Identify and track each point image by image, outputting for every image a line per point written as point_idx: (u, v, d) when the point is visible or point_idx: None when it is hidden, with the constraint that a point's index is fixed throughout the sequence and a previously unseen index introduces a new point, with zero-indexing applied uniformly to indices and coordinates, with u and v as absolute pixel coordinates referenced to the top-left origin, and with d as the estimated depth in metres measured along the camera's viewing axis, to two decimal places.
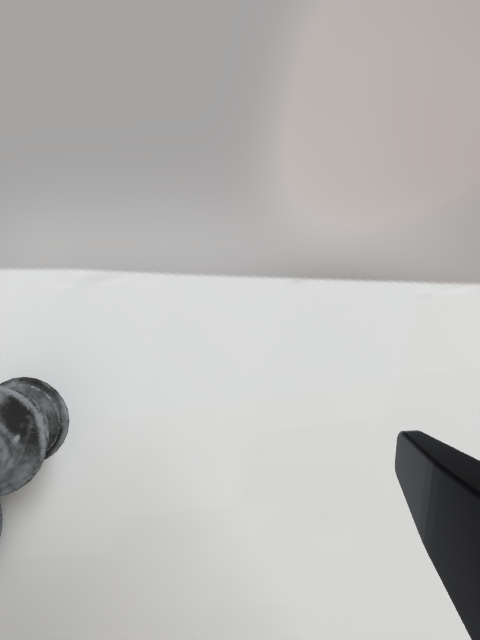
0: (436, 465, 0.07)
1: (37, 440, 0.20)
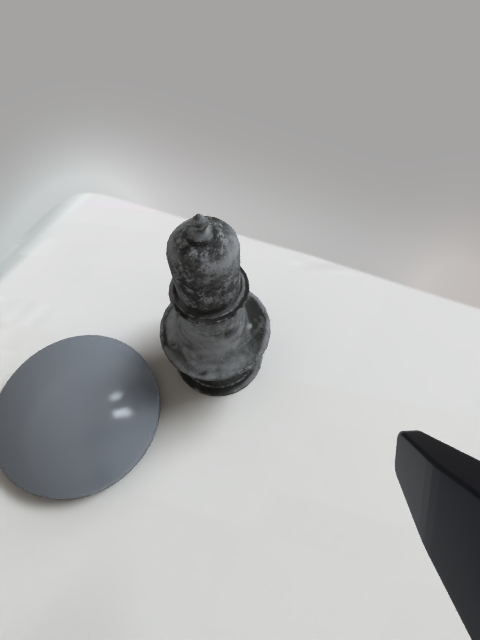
0: (436, 465, 0.07)
1: (261, 339, 0.20)
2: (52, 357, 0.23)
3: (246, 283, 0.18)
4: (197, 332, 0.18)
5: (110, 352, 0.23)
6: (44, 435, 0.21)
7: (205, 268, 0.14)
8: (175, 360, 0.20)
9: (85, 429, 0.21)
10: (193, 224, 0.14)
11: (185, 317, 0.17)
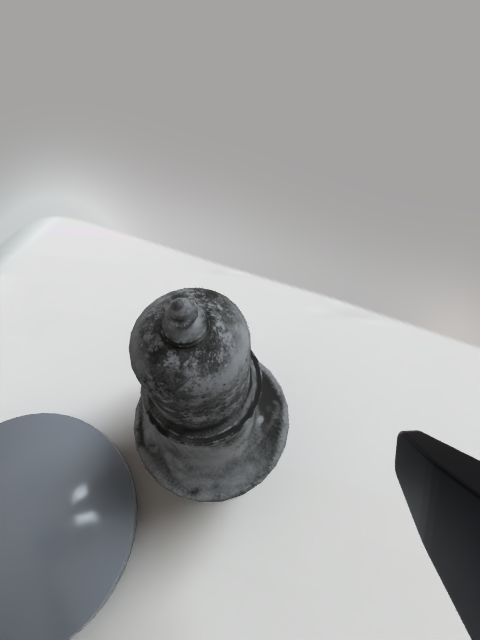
0: (436, 465, 0.07)
1: (277, 438, 0.14)
2: None
3: (258, 375, 0.12)
4: None
5: (70, 438, 0.17)
6: None
7: (193, 386, 0.08)
8: (154, 470, 0.14)
9: (30, 557, 0.15)
10: (171, 316, 0.08)
11: (164, 434, 0.11)
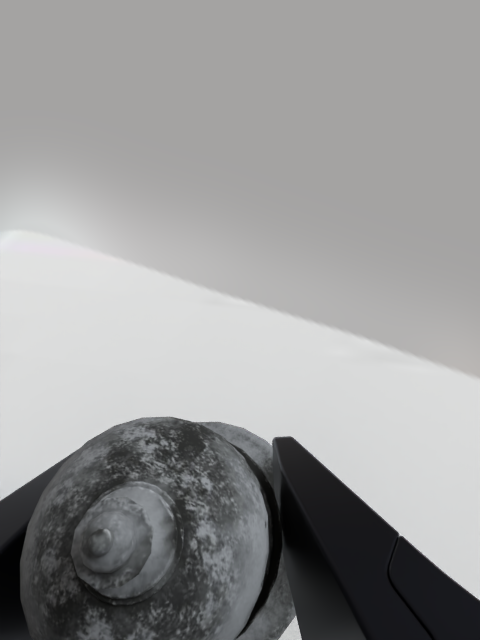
0: (282, 472, 0.07)
1: None
2: None
3: (275, 522, 0.07)
4: None
5: None
6: None
7: None
8: None
9: None
10: (84, 560, 0.03)
11: None
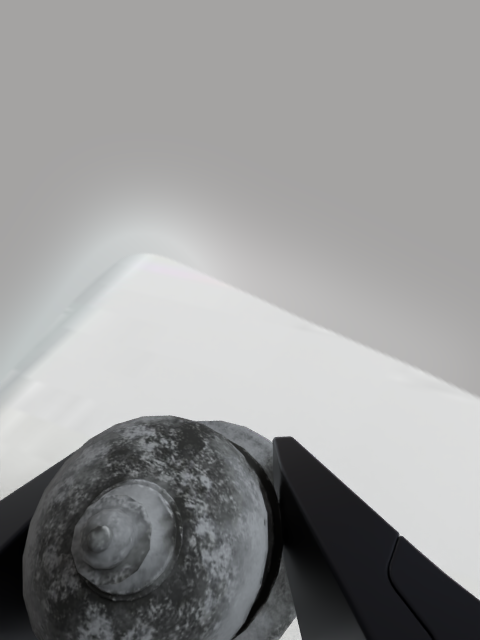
0: (282, 472, 0.07)
1: None
2: None
3: (276, 520, 0.07)
4: None
5: None
6: None
7: None
8: None
9: None
10: None
11: None
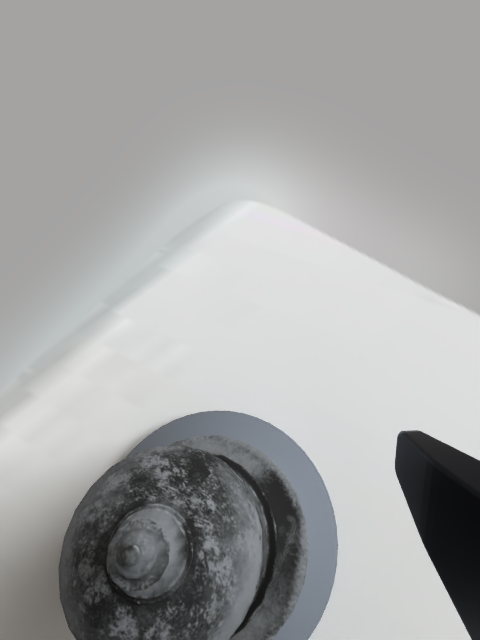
0: (436, 465, 0.07)
1: (293, 572, 0.11)
2: (191, 436, 0.16)
3: (270, 531, 0.08)
4: None
5: (271, 450, 0.16)
6: None
7: None
8: None
9: None
10: None
11: None
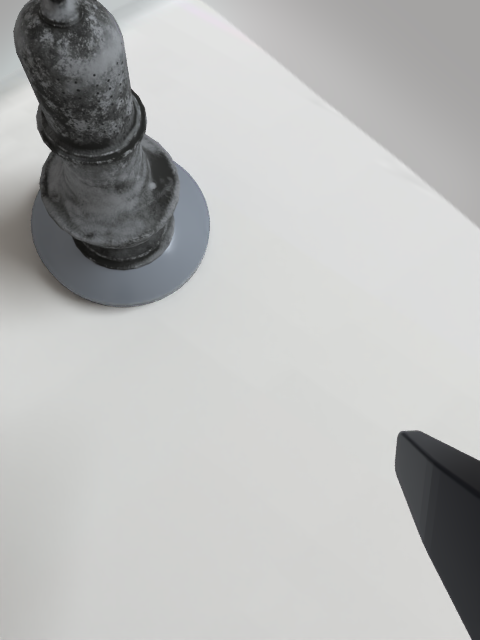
0: (436, 465, 0.07)
1: (166, 205, 0.17)
2: None
3: (142, 119, 0.14)
4: (78, 179, 0.15)
5: None
6: None
7: (66, 65, 0.10)
8: (56, 215, 0.16)
9: None
10: None
11: (55, 150, 0.13)
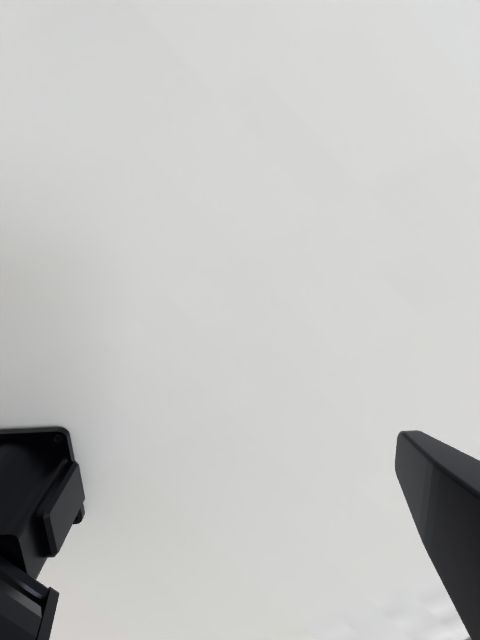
0: (436, 465, 0.07)
1: None
2: None
3: None
4: None
5: None
6: None
7: None
8: None
9: None
10: None
11: None
